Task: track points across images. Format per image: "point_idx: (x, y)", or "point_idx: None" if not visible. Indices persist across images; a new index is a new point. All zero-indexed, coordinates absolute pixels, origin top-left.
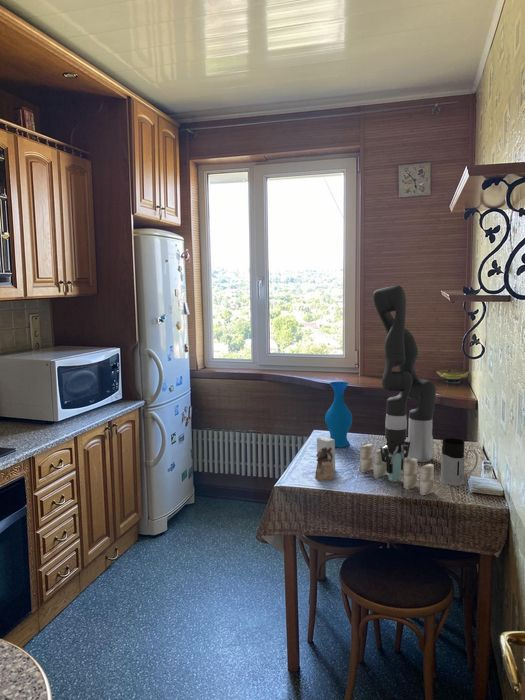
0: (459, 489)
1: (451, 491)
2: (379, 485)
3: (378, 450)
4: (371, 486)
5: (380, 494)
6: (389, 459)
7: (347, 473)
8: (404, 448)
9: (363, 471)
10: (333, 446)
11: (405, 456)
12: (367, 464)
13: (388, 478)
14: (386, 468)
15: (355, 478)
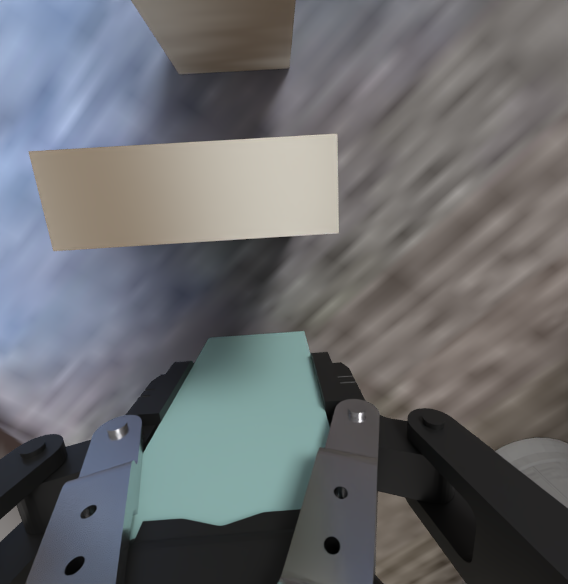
0: (448, 567)
1: (397, 565)
2: (125, 338)
3: (134, 186)
4: (66, 323)
5: (46, 432)
6: (145, 461)
7: (39, 5)
8: (503, 575)
9: (180, 70)
10: None
11: (405, 490)
12: (218, 35)
13: (207, 341)
14: (143, 393)
15: (42, 145)
